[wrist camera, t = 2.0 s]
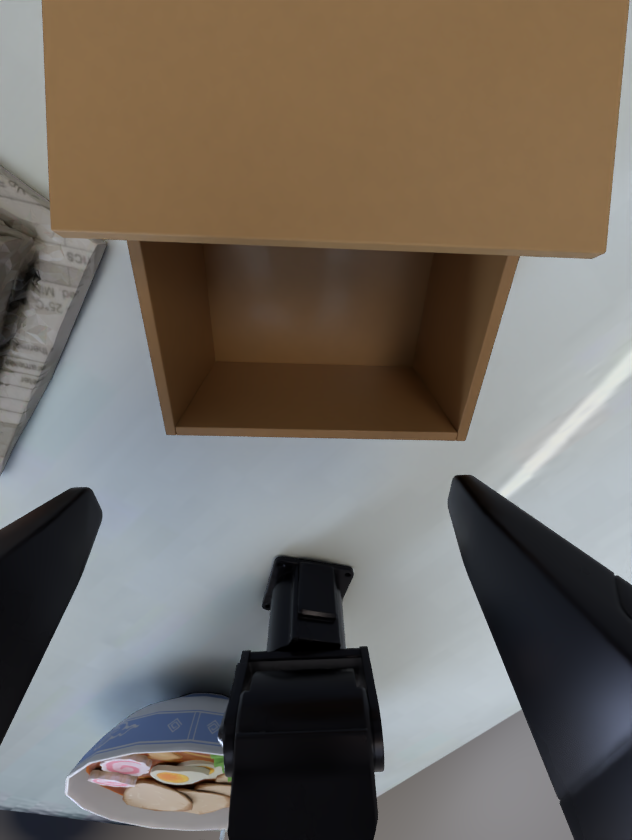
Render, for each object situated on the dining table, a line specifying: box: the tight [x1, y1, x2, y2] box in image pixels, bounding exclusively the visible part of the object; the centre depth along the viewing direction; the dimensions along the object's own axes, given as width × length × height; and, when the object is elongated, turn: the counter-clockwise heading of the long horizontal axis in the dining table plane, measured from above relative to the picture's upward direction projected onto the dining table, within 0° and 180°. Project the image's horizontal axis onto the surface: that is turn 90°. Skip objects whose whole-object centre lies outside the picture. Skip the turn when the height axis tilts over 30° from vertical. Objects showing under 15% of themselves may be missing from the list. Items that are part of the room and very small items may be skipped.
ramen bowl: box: [65, 693, 232, 831], centre depth 37 cm, size 25×23×8 cm
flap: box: [42, 0, 629, 259], centre depth 7 cm, size 6×12×1 cm, turn 88°
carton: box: [127, 240, 520, 441], centre depth 14 cm, size 13×12×7 cm
